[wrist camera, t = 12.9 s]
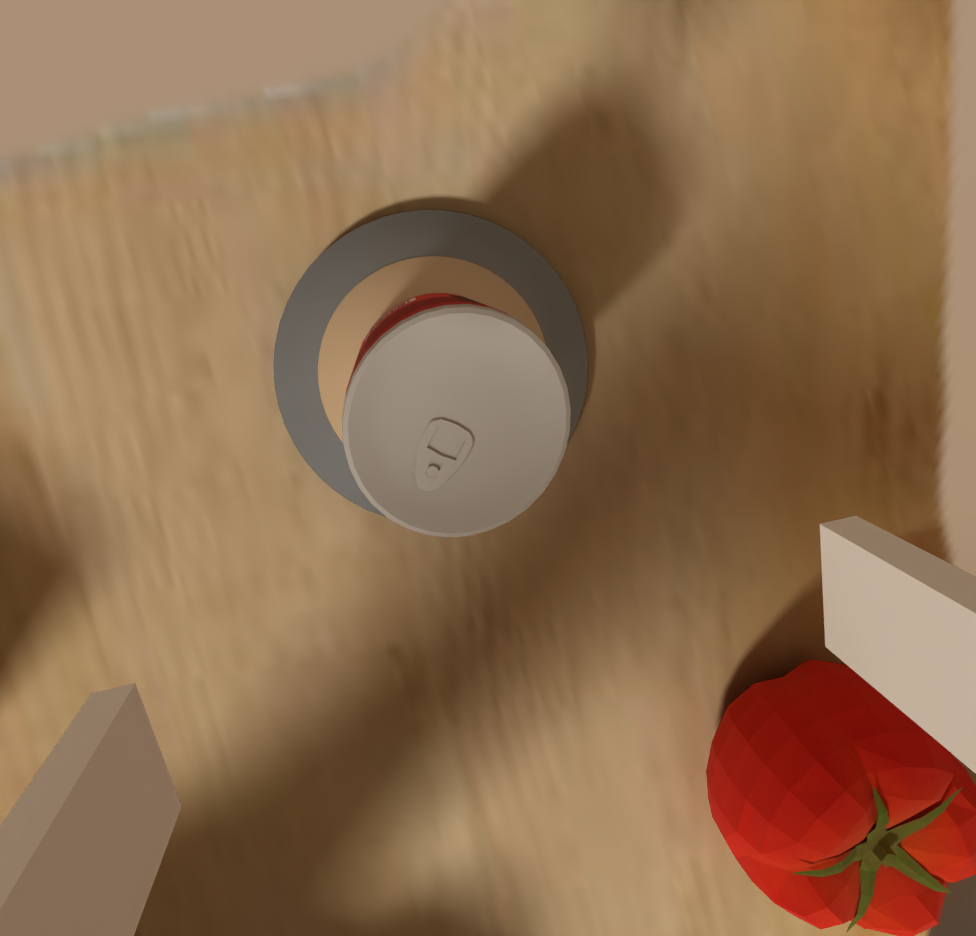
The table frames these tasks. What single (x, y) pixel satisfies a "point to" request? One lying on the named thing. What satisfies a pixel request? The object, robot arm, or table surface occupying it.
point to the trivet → (389, 281)
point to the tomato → (841, 802)
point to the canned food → (453, 416)
